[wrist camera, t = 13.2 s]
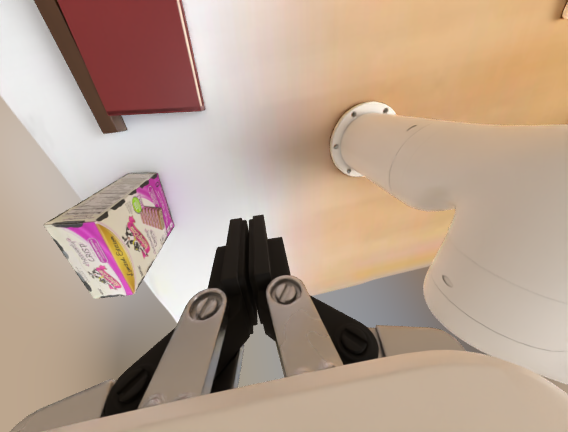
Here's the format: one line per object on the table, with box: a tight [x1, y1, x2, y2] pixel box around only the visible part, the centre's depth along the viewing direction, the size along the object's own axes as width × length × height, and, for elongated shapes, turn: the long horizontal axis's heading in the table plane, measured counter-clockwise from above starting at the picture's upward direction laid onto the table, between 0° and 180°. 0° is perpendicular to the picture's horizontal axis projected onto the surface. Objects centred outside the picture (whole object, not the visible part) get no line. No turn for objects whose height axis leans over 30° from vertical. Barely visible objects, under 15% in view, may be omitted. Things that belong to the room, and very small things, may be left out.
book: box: [57, 0, 205, 116], centre depth 24 cm, size 12×16×3 cm
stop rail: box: [34, 0, 127, 134], centre depth 24 cm, size 2×20×2 cm, turn 4°
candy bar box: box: [44, 173, 174, 299], centre depth 29 cm, size 11×5×16 cm, turn 178°
